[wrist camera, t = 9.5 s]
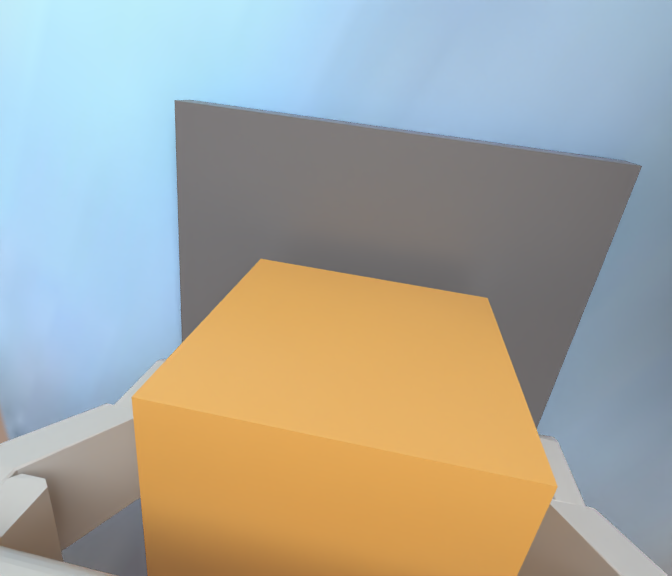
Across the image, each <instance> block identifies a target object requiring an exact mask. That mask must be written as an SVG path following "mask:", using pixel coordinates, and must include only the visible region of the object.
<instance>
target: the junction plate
mask: <svg viewBox="0 0 672 576" xmlns="http://www.w3.org/2000/svg"><path fill="white" fill-rule="evenodd" d="M175 128H176V161H177V193H178V226H179V259H180V291H181V324H182V342H183V341H184V340H185V339H186V338H187V337H188V336H189V335H190V334H191V333H192V332H193V331H194V330H195V329H196V328H197V326H198V325H199V324H200V323H201V322H202V321H203V320H204V319H205V318H206V317H207V316H208V315H209V314H210V313H211V311H212V310H213V309H214V308H215V307H216V306H217V305H218V304H219V303H220V302H221V301H222V300H223V299H224V298H225V297H226V295H227V294H228V293H229V292H230V291H231V290H232V289H233V288H234V287H235V286H236V285H237V284H238V283H239V282H240V281H241V279H242V278H243V277H244V276H245V275H246V274H247V273H248V272H249V271H250V270H251V269H252V268H253V267H254V266H255V264H256V263H257V262H258V261H259V260H260V259H266V260H271V261H277V262H283V263H289V264H294V265H300V266H306V267H312V268H318V269H323V270H329V271H335V272H341V273H346V274H352V275H358V276H364V277H370V278H375V279H381V280H387V281H393V282H398V283H404V284H410V285H416V286H422V287H427V288H433V289H439V290H445V291H450V292H456V293H462V294H468V295H474V296H479V297H485V298H488V300H489V303H490V306H491V308H492V311H493V314H494V316H495V319H496V322H497V324H498V327H499V330H500V332H501V335H502V338H503V341H504V343H505V346H506V349H507V351H508V354H509V357H510V359H511V362H512V365H513V367H514V370H515V373H516V376H517V378H518V381H519V384H520V386H521V389H522V392H523V394H524V397H525V400H526V402H527V405H528V408H529V411H530V413H531V416H532V419H533V421H534V424H535V427H536V429H537V426H538V424H539V421H540V419H541V416H542V414H543V411H544V409H545V406H546V404H547V401H548V399H549V396H550V394H551V391H552V389H553V386H554V384H555V381H556V379H557V376H558V374H559V372H560V369H561V367H562V364H563V362H564V359H565V357H566V354H567V352H568V349H569V347H570V344H571V342H572V339H573V337H574V334H575V332H576V329H577V327H578V324H579V322H580V319H581V317H582V314H583V312H584V309H585V307H586V304H587V302H588V299H589V297H590V294H591V292H592V289H593V287H594V284H595V282H596V279H597V277H598V274H599V272H600V269H601V267H602V264H603V262H604V259H605V257H606V254H607V252H608V249H609V247H610V244H611V242H612V239H613V237H614V234H615V232H616V229H617V227H618V224H619V222H620V219H621V217H622V214H623V212H624V209H625V207H626V204H627V202H628V199H629V197H630V194H631V192H632V189H633V187H634V184H635V182H636V180H637V177H638V175H639V172H640V170H641V167H642V166H640V165H637V164H633V163H630V162H627V161H623V160H615V159H608V158H601V157H594V156H587V155H580V154H573V153H565V152H558V151H551V150H544V149H537V148H530V147H523V146H515V145H508V144H501V143H494V142H487V141H480V140H473V139H465V138H458V137H451V136H444V135H437V134H430V133H423V132H416V131H408V130H401V129H394V128H387V127H380V126H373V125H366V124H358V123H351V122H344V121H337V120H330V119H323V118H316V117H308V116H301V115H294V114H287V113H280V112H273V111H266V110H258V109H251V108H244V107H237V106H230V105H223V104H216V103H208V102H201V101H194V100H175Z"/></svg>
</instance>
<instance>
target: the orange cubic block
mask: <svg viewBox="0 0 672 576" xmlns="http://www.w3.org/2000/svg"><path fill="white" fill-rule="evenodd" d="M131 398H132V409H133V420H134V431H135V442H136V453H137V464H138V475H139V486H140V497H141V508H142V519H143V530H144V541H145V552H146V563H147V573H148V576H517V575H518V573H519V570H520V568H521V566H522V564H523V562H524V560H525V557H526V555H527V553H528V551H529V549H530V546H531V544H532V542H533V540H534V538H535V535H536V533H537V531H538V529H539V527H540V525H541V522H542V520H543V518H544V516H545V514H546V511H547V509H548V507H549V505H550V503H551V500H552V498H553V496H554V494H555V492H556V490H557V487H558V486H557V483H556V481H555V478H554V475H553V472H552V470H551V467H550V464H549V462H548V459H547V456H546V454H545V451H544V448H543V446H542V443H541V440H540V437H539V435H538V432H537V429H536V427H535V424H534V421H533V419H532V416H531V413H530V411H529V408H528V405H527V402H526V400H525V397H524V394H523V392H522V389H521V386H520V384H519V381H518V378H517V376H516V373H515V370H514V367H513V365H512V362H511V359H510V357H509V354H508V351H507V349H506V346H505V343H504V341H503V338H502V335H501V332H500V330H499V327H498V324H497V322H496V319H495V316H494V314H493V311H492V308H491V306H490V303H489V300H488V298H485V297H479V296H474V295H468V294H462V293H456V292H450V291H445V290H439V289H433V288H427V287H422V286H416V285H410V284H404V283H398V282H393V281H387V280H381V279H375V278H370V277H364V276H358V275H352V274H346V273H341V272H335V271H329V270H323V269H318V268H312V267H306V266H300V265H294V264H289V263H283V262H277V261H271V260H266V259H260V260H259V261H258V262H257V263H256V264H255V266H254V267H253V268H252V269H251V270H250V271H249V272H248V273H247V274H246V275H245V276H244V277H243V278H242V279H241V281H240V282H239V283H238V284H237V285H236V286H235V287H234V288H233V289H232V290H231V291H230V292H229V293H228V294H227V295H226V297H225V298H224V299H223V300H222V301H221V302H220V303H219V304H218V305H217V306H216V307H215V308H214V309H213V310H212V311H211V313H210V314H209V315H208V316H207V317H206V318H205V319H204V320H203V321H202V322H201V323H200V324H199V325H198V326H197V328H196V329H195V330H194V331H193V332H192V333H191V334H190V335H189V336H188V337H187V338H186V339H185V340H184V341H183V342H182V344H181V345H180V346H179V347H178V348H177V349H176V350H175V351H174V352H173V353H172V354H171V355H170V356H169V357H168V358H167V360H166V361H165V362H164V363H163V364H162V365H161V366H160V367H159V368H158V369H157V370H156V371H155V372H154V373H153V375H152V376H151V377H150V378H149V379H148V380H147V381H146V382H145V383H144V384H143V385H142V386H141V387H140V388H139V389H138V391H137V392H136V393H135V394H134V395H133V396H132V397H131Z"/></svg>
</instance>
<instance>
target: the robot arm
mask: <svg viewBox="0 0 672 576" xmlns="http://www.w3.org/2000/svg"><path fill="white" fill-rule="evenodd" d="M166 360H167V359H161V360H158V361H156V362H155V363H154V364H153V365H152V366H151V367H150V368H149V369H148V370H147V372H146V373H145V374H144V375H143V376H142V377H141V378H140V379H139V380H138V381H137V382H136V383H135V384H134V385H133V386H132V387H131V388H130V389H129V390H128V391H127V392H126V393H125V394H124V395H123V396H122V397H121V398H120V399H119V400H118V401H117V402H116V403H115V404H114V405H112V404H104V405H101V406H99V407H96V408H93V409H91V410H88V411H85V412H83V413H80V414H78V415H75V416H72V417H70V418H67V419H64V420H62V421H59V422H56V423H54V424H51V425H48V426H46V427H43V428H41V429H38V430H35V431H33V432H30V433H27V434H25V435H22V436H19V437H17V438H14V439H11V440H9V441H6V442H4V443H1V444H0V576H117V575H113V574H109V573H105V572H101V571H97V570H93V569H89V568H85V567H81V566H77V565H74V564H70V563H66V562H63V557H62V552H61V551H63V550H64V549H65V548H67V547H68V546H70V545H71V544H73V543H74V542H76V541H77V540H79V539H80V538H81V537H83V536H84V535H86V534H87V533H89V532H90V531H92V530H93V529H95V528H96V527H98V526H99V525H100V524H102V523H103V522H105V521H106V520H108V519H109V518H111V517H112V516H114V515H115V514H117V513H118V512H119V511H121V510H122V509H124V508H125V507H127V506H128V505H130V504H131V503H133V502H134V501H135V500H137V499H138V498H140V486H139V475H138V464H137V453H136V442H135V431H134V420H133V409H132V398H131V397H132V396H133V395H134V394H135V393H136V392H137V391H138V389H139V388H140V387H141V386H142V385H143V384H144V383H145V382H146V381H147V380H148V379H149V378H150V377H151V376H152V375H153V373H154V372H155V371H156V370H157V369H158V368H159V367H160V366H161V365H162V364H163V363H164V362H165V361H166ZM538 435H539V434H538ZM539 437H540V440H541V443H542V446H543V448H544V451H545V454H546V456H547V459H548V462H549V464H550V467H551V470H552V472H553V475H554V478H555V481H556V483H557V486H558V487H557V490H556V492H555V494H554V496H553V498H552V500H551V503H550V505H549V507H548V509H547V511H546V514H545V516H544V518H543V520H542V522H541V525H540V527H539V529H538V531H537V533H536V535H535V538H534V540H533V542H532V544H531V546H530V549H529V551H528V553H527V555H526V557H525V560H524V562H523V564H522V566H521V568H520V570H519V573H518V575H517V576H668V575H667V574H666V573H665V572H664V571H663V570H662V569H660V568H659V567H658V566H657V565H656V564H655V563H654V562H653V561H652V560H651V559H650V558H648V557H647V556H646V555H645V554H644V553H643V552H642V551H641V550H640V549H639V548H637V547H636V546H635V545H634V544H633V543H632V542H631V541H630V540H629V539H628V538H627V537H625V536H624V535H623V534H622V533H621V532H620V531H619V530H618V529H617V528H616V527H614V526H613V525H612V524H611V523H610V522H609V521H608V520H607V519H606V518H605V517H604V516H602V515H601V514H600V513H599V512H598V511H597V510H596V509H595V508H591V507H586V505H585V503H584V501H583V498H582V496H581V494H580V491H579V489H578V487H577V485H576V482H575V480H574V478H573V475H572V473H571V471H570V468H569V466H568V464H567V461H566V459H565V457H564V454H563V452H562V450H561V447H560V445H559V443H558V441H557V440H556V439H555V438H554V437H550V436H544V435H539Z"/></svg>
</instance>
